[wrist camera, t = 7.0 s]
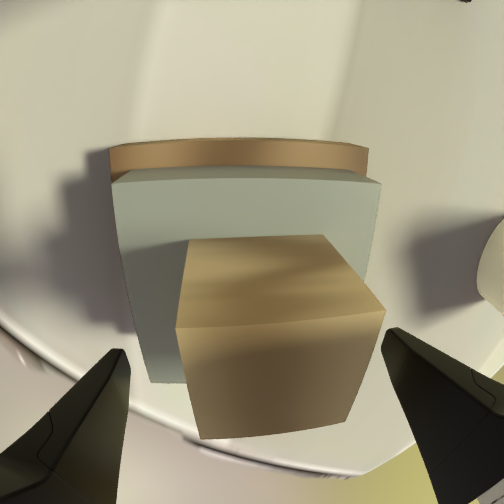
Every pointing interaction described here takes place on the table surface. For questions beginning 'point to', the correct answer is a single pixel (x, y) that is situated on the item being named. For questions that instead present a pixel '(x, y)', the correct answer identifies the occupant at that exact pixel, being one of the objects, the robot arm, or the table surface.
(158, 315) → the slate slab
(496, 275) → the cylinder with rectangular tab
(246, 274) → the oak cube
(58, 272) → the table surface
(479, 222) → the table surface
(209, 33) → the table surface
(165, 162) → the walnut slab
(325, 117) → the table surface
